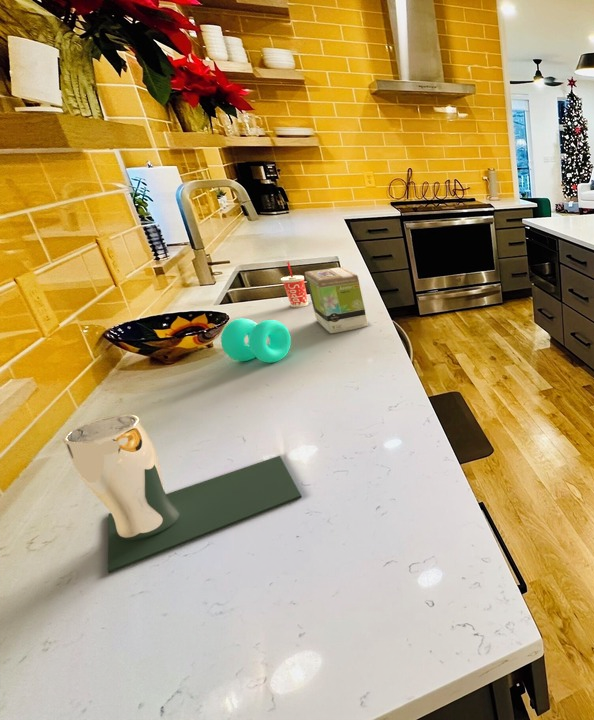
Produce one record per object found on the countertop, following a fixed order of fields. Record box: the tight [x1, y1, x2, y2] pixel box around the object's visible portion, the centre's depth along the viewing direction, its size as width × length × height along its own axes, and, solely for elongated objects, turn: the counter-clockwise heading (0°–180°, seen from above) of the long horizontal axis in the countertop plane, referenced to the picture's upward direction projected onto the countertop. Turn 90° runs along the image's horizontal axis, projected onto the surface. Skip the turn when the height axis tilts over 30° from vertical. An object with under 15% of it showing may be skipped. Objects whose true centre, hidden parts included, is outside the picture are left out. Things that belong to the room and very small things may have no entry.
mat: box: [107, 455, 303, 574], centre depth 70 cm, size 14×20×1 cm
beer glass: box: [62, 414, 180, 541], centre depth 63 cm, size 7×7×15 cm
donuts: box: [220, 318, 292, 364], centre depth 116 cm, size 10×10×10 cm
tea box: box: [304, 266, 369, 334], centre depth 139 cm, size 15×10×15 cm, turn 43°
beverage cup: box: [280, 261, 309, 308], centre depth 155 cm, size 6×6×14 cm
